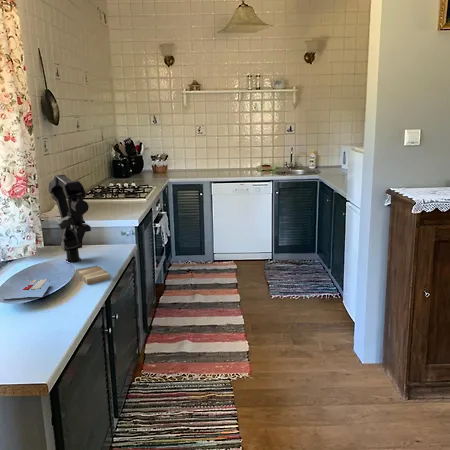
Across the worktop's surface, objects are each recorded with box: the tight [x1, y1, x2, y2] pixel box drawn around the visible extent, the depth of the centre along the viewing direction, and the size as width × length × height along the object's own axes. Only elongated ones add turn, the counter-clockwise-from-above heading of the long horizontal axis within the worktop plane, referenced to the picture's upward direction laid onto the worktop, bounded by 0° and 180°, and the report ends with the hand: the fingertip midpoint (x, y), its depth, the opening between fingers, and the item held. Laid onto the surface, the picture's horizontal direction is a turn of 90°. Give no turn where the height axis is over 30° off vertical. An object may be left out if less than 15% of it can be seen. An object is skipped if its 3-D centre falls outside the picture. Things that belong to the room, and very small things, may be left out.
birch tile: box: [78, 266, 111, 286], centre depth 201 cm, size 2×10×12 cm
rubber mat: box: [75, 265, 99, 282], centre depth 208 cm, size 16×10×1 cm, turn 25°
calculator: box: [23, 278, 48, 290], centre depth 189 cm, size 11×4×15 cm
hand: (79, 243), depth 211 cm, fingers closed
